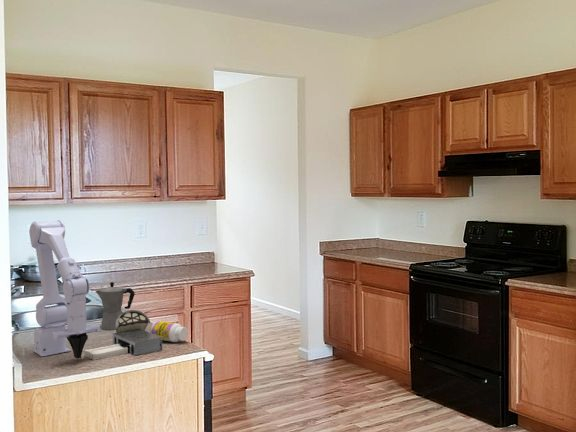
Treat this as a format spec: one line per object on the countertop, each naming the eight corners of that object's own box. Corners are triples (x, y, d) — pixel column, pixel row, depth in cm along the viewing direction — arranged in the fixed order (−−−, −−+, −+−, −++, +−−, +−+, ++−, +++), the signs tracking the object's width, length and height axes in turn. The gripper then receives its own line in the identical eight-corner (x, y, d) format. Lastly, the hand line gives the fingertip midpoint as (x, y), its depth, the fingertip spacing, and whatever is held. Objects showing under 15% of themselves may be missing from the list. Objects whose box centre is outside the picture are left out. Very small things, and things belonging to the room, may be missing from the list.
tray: (93, 360, 183) (92, 354, 183) (84, 356, 188) (84, 350, 188) (127, 352, 191) (127, 347, 191) (119, 348, 196) (118, 343, 196)
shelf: (135, 355, 188) (134, 342, 188) (113, 345, 200) (113, 333, 199) (162, 349, 194) (162, 337, 194) (139, 340, 206) (139, 328, 206)
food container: (140, 323, 215) (146, 306, 209) (145, 336, 211) (151, 319, 205) (107, 328, 208) (112, 311, 202) (111, 342, 204) (117, 324, 199)
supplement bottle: (154, 317, 208) (182, 321, 202) (164, 325, 213) (192, 328, 207) (147, 334, 204) (175, 338, 198) (157, 342, 209) (185, 346, 203)
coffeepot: (92, 330, 221) (91, 284, 220) (99, 324, 231) (99, 280, 230) (131, 330, 221) (131, 284, 221) (138, 324, 231) (137, 280, 230)
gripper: (58, 321, 174) (59, 365, 175) (103, 314, 184) (104, 355, 185) (50, 317, 180) (51, 360, 180) (94, 310, 189) (95, 351, 190)
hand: (77, 357), depth 183 cm, fingers closed
